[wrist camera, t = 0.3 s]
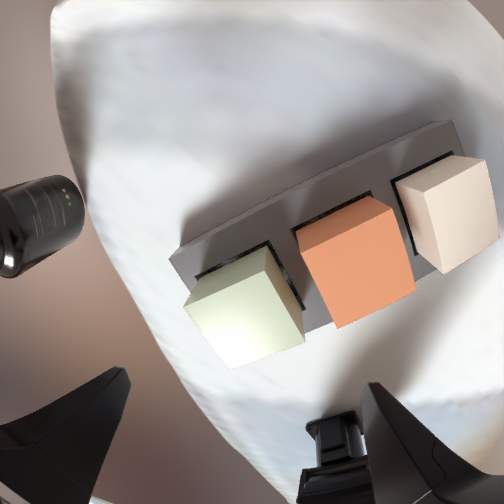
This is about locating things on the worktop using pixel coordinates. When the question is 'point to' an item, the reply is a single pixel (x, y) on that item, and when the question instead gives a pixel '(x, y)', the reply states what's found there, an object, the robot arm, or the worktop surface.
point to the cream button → (450, 210)
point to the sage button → (247, 309)
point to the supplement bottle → (37, 222)
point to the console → (313, 204)
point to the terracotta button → (357, 259)
